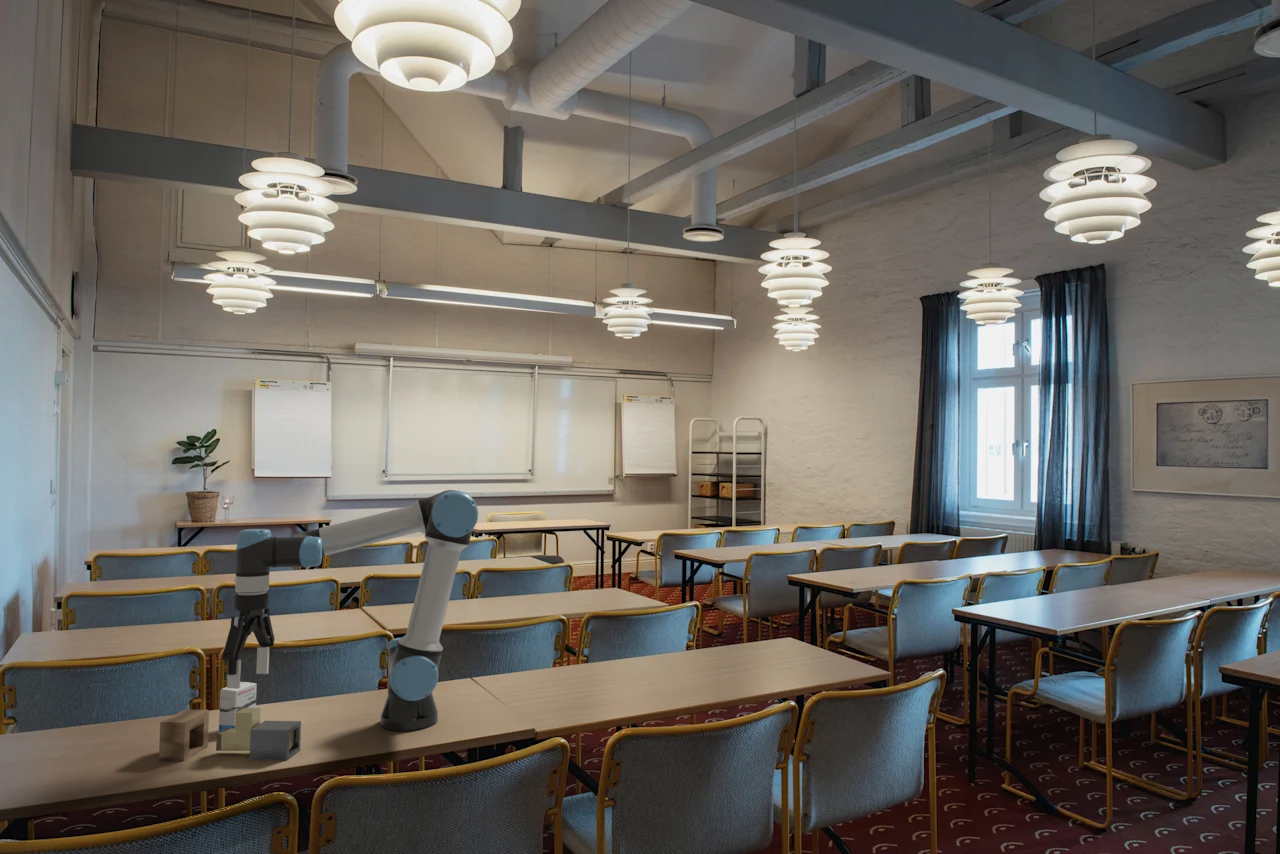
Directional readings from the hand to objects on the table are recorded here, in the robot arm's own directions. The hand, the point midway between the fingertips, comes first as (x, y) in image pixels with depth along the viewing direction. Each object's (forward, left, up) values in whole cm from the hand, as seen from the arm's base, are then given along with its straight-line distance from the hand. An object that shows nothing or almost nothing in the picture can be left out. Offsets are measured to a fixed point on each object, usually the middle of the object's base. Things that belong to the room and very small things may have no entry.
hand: (248, 680), depth 194 cm
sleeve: (-7, 0, -18) cm, 19 cm away
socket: (+15, 0, -18) cm, 23 cm away
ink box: (+11, -17, -18) cm, 27 cm away
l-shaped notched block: (-2, 0, -16) cm, 16 cm away
